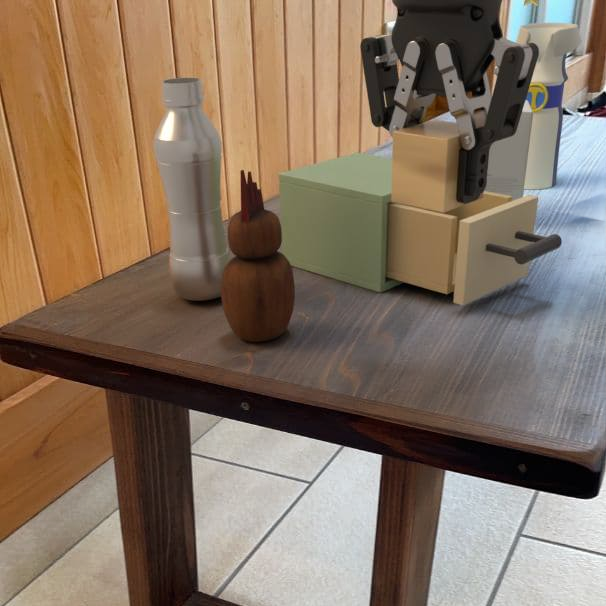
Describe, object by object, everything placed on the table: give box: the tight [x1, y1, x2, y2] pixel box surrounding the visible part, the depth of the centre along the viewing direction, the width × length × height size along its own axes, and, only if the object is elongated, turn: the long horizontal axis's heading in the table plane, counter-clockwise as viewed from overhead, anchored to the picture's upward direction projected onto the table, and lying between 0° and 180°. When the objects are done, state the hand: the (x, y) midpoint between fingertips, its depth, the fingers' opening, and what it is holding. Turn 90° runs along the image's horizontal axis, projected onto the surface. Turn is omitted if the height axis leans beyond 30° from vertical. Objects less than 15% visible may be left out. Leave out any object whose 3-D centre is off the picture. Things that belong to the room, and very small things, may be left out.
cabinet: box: [278, 152, 405, 293], centre depth 93 cm, size 15×13×10 cm
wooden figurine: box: [220, 169, 296, 343], centre depth 76 cm, size 7×6×15 cm
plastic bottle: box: [152, 77, 232, 301], centre depth 83 cm, size 6×7×20 cm
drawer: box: [385, 191, 563, 306], centre depth 86 cm, size 18×11×8 cm, turn 45°
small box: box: [484, 100, 533, 201], centre depth 104 cm, size 8×6×13 cm
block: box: [391, 119, 483, 213], centre depth 64 cm, size 5×5×5 cm
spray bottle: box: [514, 0, 583, 190], centre depth 114 cm, size 8×9×25 cm
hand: (437, 193), depth 65 cm, fingers closed on block, 5 cm apart
